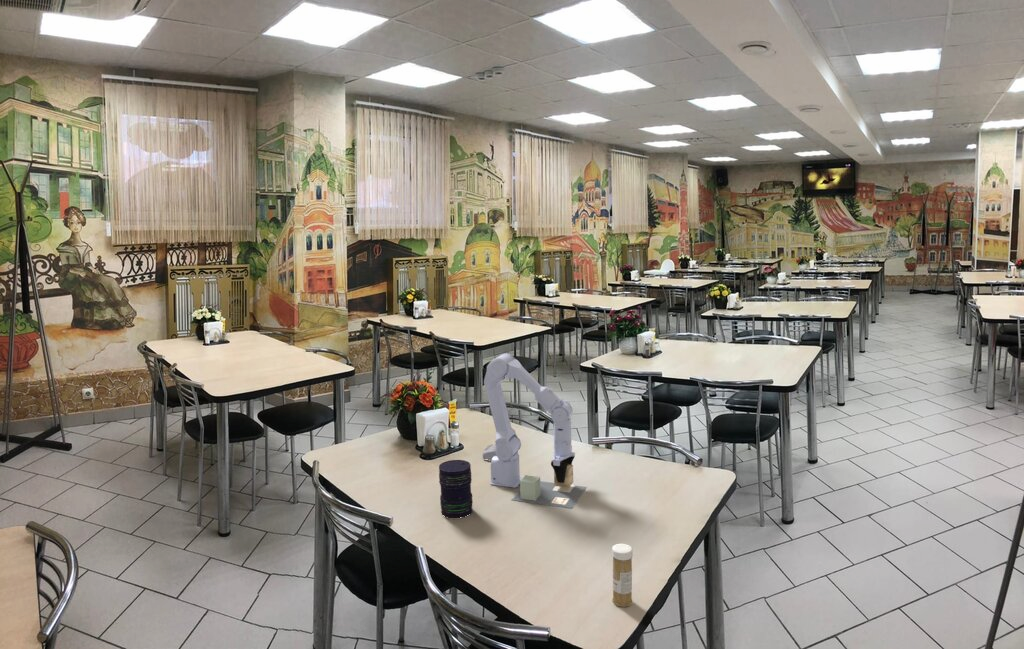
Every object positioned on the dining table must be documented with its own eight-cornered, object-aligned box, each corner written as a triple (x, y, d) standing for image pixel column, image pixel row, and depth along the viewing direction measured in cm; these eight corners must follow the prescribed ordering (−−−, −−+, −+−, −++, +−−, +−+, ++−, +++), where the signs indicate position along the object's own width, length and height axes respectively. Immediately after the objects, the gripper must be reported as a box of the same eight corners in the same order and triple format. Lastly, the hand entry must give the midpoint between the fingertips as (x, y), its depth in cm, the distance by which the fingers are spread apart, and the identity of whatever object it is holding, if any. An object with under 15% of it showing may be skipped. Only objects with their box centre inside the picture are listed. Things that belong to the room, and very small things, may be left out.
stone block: (482, 466, 240) (507, 461, 238) (479, 453, 239) (504, 449, 237) (488, 456, 251) (513, 451, 249) (486, 444, 251) (510, 440, 249)
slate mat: (511, 500, 204) (511, 499, 204) (529, 480, 220) (529, 479, 220) (571, 508, 197) (571, 508, 197) (586, 487, 213) (586, 486, 212)
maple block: (554, 485, 211) (553, 468, 210) (558, 480, 215) (558, 463, 214) (569, 487, 209) (568, 470, 208) (573, 482, 213) (573, 464, 213)
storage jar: (447, 521, 191) (445, 474, 188) (436, 509, 199) (433, 463, 197) (478, 514, 195) (476, 467, 193) (465, 502, 204) (463, 457, 202)
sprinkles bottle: (609, 598, 149) (609, 544, 147) (628, 595, 150) (628, 541, 148) (616, 609, 145) (616, 553, 143) (635, 606, 146) (635, 551, 143)
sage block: (520, 498, 205) (520, 481, 204) (526, 492, 209) (525, 475, 208) (535, 500, 203) (534, 482, 202) (540, 494, 207) (540, 477, 207)
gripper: (567, 448, 202) (568, 488, 204) (580, 433, 215) (581, 472, 217) (546, 445, 204) (547, 486, 206) (560, 432, 218) (561, 470, 220)
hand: (563, 479), depth 212 cm, fingers closed on maple block, 5 cm apart
